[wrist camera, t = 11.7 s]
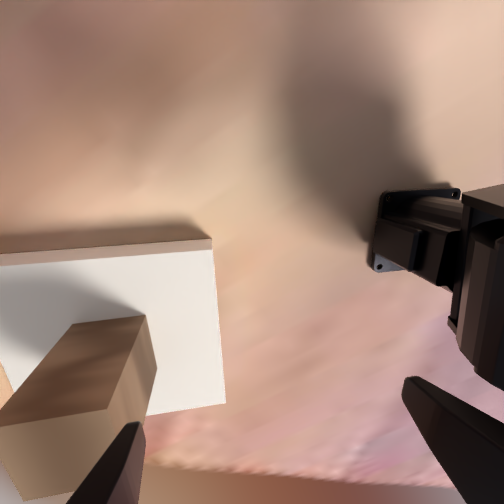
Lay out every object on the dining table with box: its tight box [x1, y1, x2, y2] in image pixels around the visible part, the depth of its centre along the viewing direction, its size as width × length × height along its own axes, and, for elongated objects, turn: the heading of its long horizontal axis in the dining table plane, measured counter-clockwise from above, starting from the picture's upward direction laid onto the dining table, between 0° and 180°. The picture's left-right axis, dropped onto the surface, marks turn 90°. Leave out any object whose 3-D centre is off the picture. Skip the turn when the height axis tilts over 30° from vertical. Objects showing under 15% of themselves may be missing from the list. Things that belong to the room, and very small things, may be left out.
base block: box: [0, 239, 226, 416], centre depth 19 cm, size 14×13×2 cm
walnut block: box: [0, 315, 157, 501], centre depth 14 cm, size 4×4×7 cm
